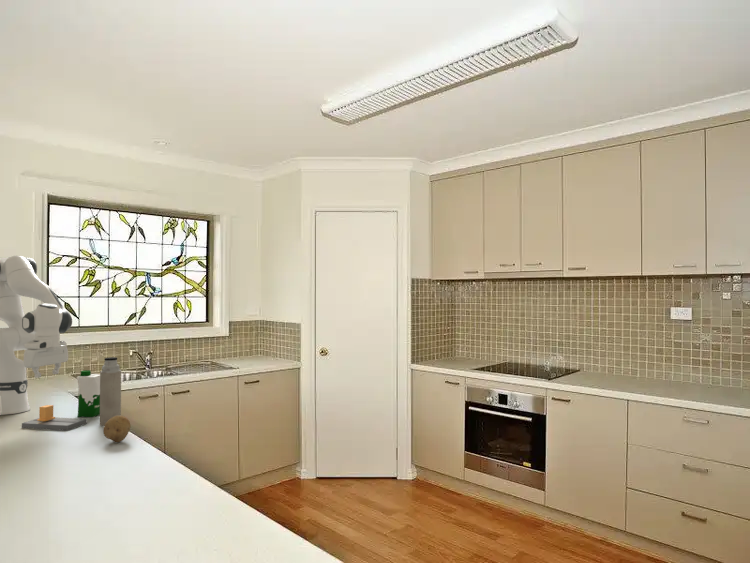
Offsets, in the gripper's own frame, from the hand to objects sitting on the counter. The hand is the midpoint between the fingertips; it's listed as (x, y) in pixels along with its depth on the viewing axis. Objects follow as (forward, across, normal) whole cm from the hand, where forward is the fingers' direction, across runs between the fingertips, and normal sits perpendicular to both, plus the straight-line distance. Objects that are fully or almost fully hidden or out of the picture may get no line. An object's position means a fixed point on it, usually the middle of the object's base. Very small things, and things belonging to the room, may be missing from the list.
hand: (46, 375), depth 218 cm
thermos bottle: (+21, -7, +25) cm, 33 cm away
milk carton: (+21, -19, +6) cm, 29 cm away
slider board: (+21, 0, +4) cm, 21 cm away
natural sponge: (+20, +17, +45) cm, 53 cm away
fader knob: (+18, 0, 0) cm, 18 cm away
